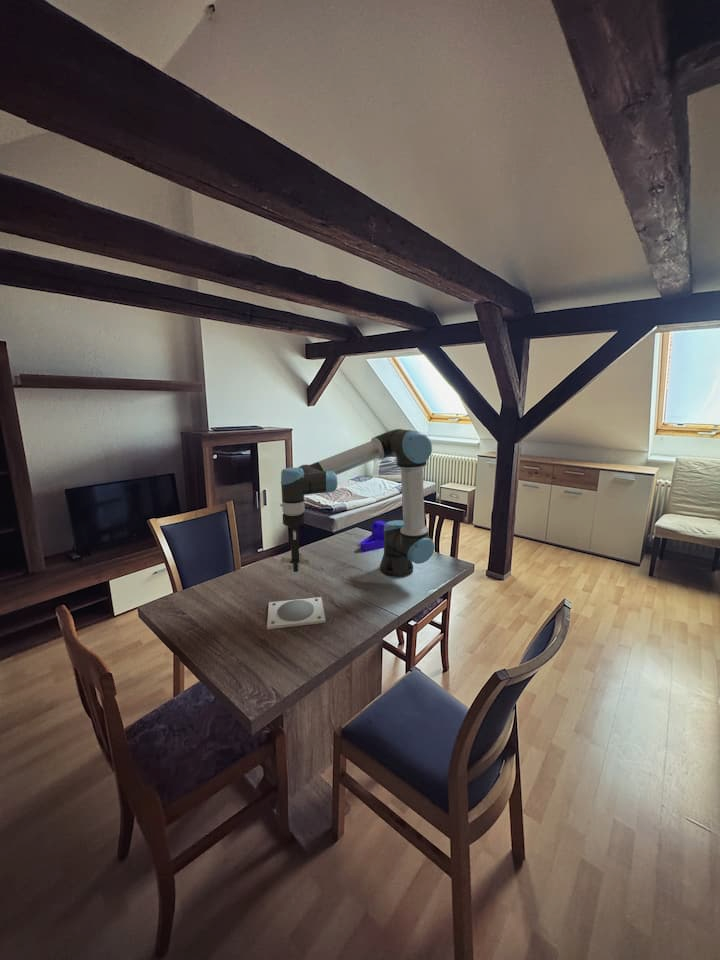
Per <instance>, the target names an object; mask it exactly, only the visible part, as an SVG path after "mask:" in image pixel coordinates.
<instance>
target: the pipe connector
mask: <svg viewBox="0 0 720 960" xmlns="http://www.w3.org/2000/svg"><path fill="white" fill-rule="evenodd" d="M291 560H292V558H291V557H285V556H284V557H281V559H280V563H284V564H287V570H290V571H292V565H291V563H290V561H291ZM299 560H300V562H299V563H300V565H306V566H308V565H309V564H310V559H307V558H303V554H302V553H301V552H299Z"/></svg>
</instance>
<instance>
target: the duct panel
mask: <svg viewBox="0 0 720 960" xmlns="http://www.w3.org/2000/svg"><path fill="white" fill-rule="evenodd" d="M326 622H327V621H326V616H325V610H324V603H323V599H322V596H320V597H319V596H318V597H310V598H298V599H291V600H290V599H289V600H287V599H286V600H279V601H268V610H267V622H266V630H272V629H273V630H275V629H281V628H282V629H283V628H291V627H300V626H301V627H302V626H309V625H316V624H317V625H318V624H319V625H320V624H325V623H326Z"/></svg>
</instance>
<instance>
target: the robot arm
mask: <svg viewBox="0 0 720 960" xmlns="http://www.w3.org/2000/svg"><path fill="white" fill-rule="evenodd" d="M432 445H433V444H432V441H431V440H430V438H429V436H427V434H425V433H424V432H421V431H418V430H413V429H411V430H410V429H402V428H396V429H393V430H392V429H391V430H389V431H386V432H384V433H381V434H378V435H377V436H373V437H372V438H371V439H370V441H367V442H365V443H362V444H360V445H358V446H357V445H356V446H354V447H352V448H349V449H347V450H344V451H342V452H340V453H339V452H338V453H337V454H334V455H332V456H329V457H327V458H324V459H322V460H319V461H316V462H313V463H311V464H301V465H299V466H298V467H287V468H284V469H282V470H281V473H280V475H281V476H280V484H281V503H280V507H281V508H282V523H283V525H284V526H286V527H288V529H287V530H288V532H287V533H288V536H289V543H290V558H292V560H291V561H290V563H291V565H292V569H291V580H292V581H296V580H301V567H300V565H301V564H300V563H299V562H300V560H299V553H300V552H299V551H300V549H301V545H299V543H300V540H301V539H300V534H301V529H300V528H301V527H300V526H303V525H304V524H305V523H306V522H305V521H306V520H305V519H306V517H305V510H306V508H305V496H307V495H317V494H328V493H331V492H335V491H336V490H337V488H338V477H337V476H338V475H341V474H342V473H344V472H345V473H346V472H347V471H350V470H352V469H355V468H358V467H359V466H362V465H364V464H367V463H370V462H372V461H374V460H377V459H378V460H383V459H387V458H396V467H397V468H398V469H399V470H400V476H401V478H400V479H401V496H402V498H401V499H402V501H401V503H402V519H403V520H402V519H401V520H399V519H398V520H397V519H395V520H389V521H386V522H387V523H386V524H385V525H384V548H383V556H382V557H381V561H380V563H379V571H380V573H381V574H382V575H384V576H387V577H391V578H405V577H408V576H411V575H412V574H413V573H414V565H413V563H415V564H418V565H419V564H424V563H425V562H427V561H429V560H430V558H432V556H433V554H434V551H435V547H436V546H435V542H434V541H433V540H432V538H430V536H429V534H430V533H429V528H428V526H426V523H425V500H424V494H425V493H424V472H423V470H424V468H425V467H426V466H427V461H429V459H430V456H431V455H432V451H433V446H432ZM290 563H289V564H290Z"/></svg>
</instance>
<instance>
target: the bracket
mask: <svg viewBox="0 0 720 960" xmlns="http://www.w3.org/2000/svg"><path fill="white" fill-rule="evenodd" d="M387 522H388V521H383V520H376V521H374V522H372V523H371V535H369V536H367V538H365V539H363V540H362V541H361V542H359V544H360V545H359V546H360V550H359V551H360V552H361V553H366V552H371V551H376V550H380V549H384V525H385V524H386V523H387Z"/></svg>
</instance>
